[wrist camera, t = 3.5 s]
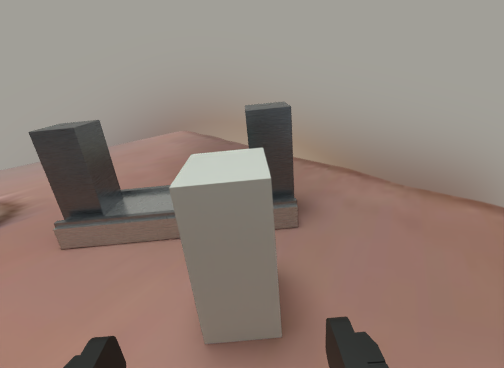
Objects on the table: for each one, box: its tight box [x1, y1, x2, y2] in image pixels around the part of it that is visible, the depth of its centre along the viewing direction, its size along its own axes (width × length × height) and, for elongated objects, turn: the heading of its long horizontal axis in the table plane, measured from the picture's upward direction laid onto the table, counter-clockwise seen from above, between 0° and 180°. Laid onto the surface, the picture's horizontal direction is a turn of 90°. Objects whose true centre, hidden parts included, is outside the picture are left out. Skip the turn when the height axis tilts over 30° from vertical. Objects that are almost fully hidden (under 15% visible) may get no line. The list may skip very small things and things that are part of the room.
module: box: [169, 148, 282, 344], centre depth 18 cm, size 5×6×11 cm
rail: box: [29, 102, 298, 249], centre depth 31 cm, size 26×9×12 cm, turn 92°
